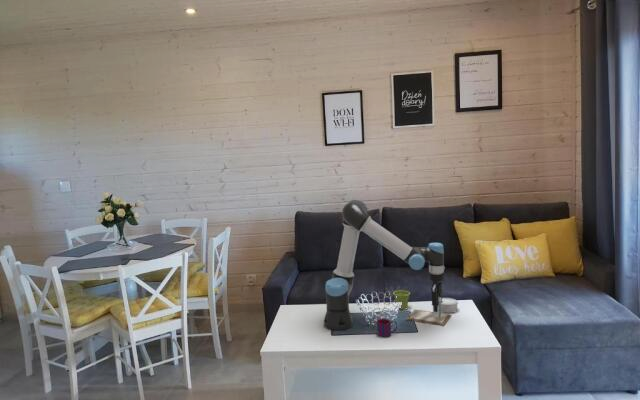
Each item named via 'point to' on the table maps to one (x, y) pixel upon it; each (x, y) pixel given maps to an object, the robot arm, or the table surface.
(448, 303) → the ramekin
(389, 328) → the mug
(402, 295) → the plant pot
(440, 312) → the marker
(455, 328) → the table surface
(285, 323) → the table surface
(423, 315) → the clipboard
